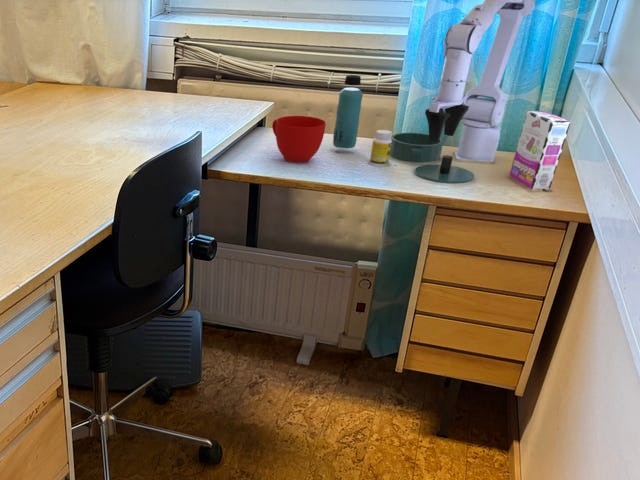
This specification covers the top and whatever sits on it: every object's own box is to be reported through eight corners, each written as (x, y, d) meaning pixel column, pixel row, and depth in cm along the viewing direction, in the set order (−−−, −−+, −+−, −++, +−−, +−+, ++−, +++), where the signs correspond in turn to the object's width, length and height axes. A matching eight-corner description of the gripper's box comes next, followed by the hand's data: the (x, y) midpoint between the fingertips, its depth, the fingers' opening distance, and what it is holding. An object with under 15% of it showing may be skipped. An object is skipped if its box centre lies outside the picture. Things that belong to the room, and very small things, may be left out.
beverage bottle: (358, 149, 199) (369, 74, 188) (350, 155, 194) (361, 78, 184) (336, 146, 202) (346, 72, 191) (327, 151, 197) (337, 76, 187)
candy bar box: (551, 191, 169) (572, 121, 160) (531, 191, 169) (551, 121, 160) (526, 176, 178) (545, 109, 170) (507, 177, 178) (525, 110, 169)
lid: (470, 171, 182) (475, 151, 180) (475, 188, 171) (480, 167, 168) (413, 166, 186) (417, 147, 183) (414, 182, 174) (418, 162, 171)
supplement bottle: (388, 166, 185) (394, 134, 181) (369, 165, 186) (375, 133, 182) (387, 161, 189) (392, 129, 185) (369, 160, 190) (374, 128, 186)
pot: (437, 150, 199) (441, 132, 196) (440, 169, 184) (445, 150, 181) (388, 146, 202) (391, 128, 199) (387, 164, 187) (391, 145, 184)
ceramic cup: (288, 147, 201) (292, 110, 196) (331, 161, 189) (336, 123, 184) (253, 153, 195) (256, 116, 190) (295, 169, 183) (299, 129, 178)
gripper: (452, 73, 174) (440, 129, 181) (422, 81, 166) (411, 139, 173) (479, 77, 170) (466, 135, 177) (451, 85, 161) (438, 145, 169)
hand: (441, 137), depth 175 cm, fingers open, 7 cm apart
